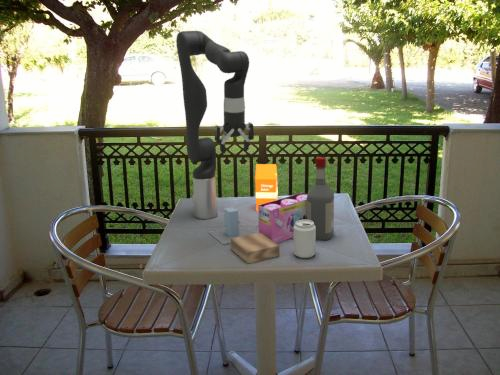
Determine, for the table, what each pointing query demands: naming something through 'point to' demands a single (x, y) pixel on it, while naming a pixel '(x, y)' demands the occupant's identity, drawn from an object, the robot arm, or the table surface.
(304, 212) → the gum box
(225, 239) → the mat
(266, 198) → the orange juice
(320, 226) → the liquor
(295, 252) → the can
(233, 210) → the block
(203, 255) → the table surface
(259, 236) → the wooden slab
